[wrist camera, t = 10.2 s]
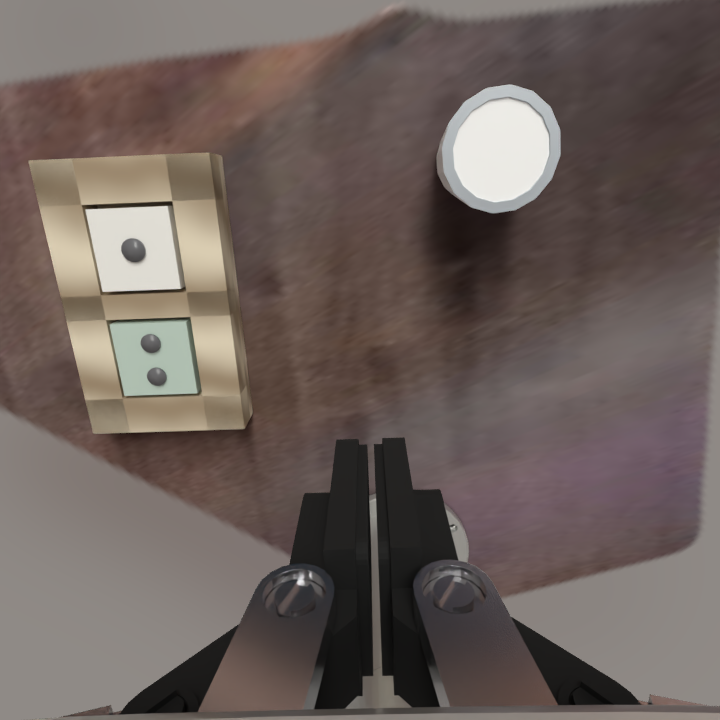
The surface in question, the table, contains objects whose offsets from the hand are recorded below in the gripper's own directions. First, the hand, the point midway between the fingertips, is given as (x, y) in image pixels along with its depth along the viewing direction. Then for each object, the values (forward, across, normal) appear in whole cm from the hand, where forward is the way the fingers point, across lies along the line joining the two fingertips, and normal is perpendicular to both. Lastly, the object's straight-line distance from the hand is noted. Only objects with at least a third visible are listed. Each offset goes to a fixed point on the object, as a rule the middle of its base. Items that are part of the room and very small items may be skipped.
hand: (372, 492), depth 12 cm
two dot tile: (+26, +16, +4) cm, 31 cm away
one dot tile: (+26, +16, -4) cm, 31 cm away
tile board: (+27, +16, 0) cm, 31 cm away
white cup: (+27, -8, -9) cm, 30 cm away
